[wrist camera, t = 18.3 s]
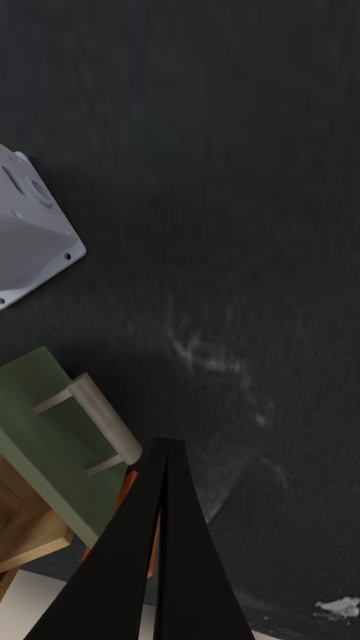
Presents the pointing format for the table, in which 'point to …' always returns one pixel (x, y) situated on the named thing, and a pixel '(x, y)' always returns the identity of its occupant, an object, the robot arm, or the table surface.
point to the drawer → (56, 458)
